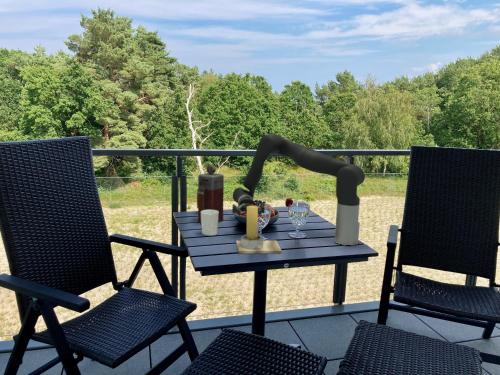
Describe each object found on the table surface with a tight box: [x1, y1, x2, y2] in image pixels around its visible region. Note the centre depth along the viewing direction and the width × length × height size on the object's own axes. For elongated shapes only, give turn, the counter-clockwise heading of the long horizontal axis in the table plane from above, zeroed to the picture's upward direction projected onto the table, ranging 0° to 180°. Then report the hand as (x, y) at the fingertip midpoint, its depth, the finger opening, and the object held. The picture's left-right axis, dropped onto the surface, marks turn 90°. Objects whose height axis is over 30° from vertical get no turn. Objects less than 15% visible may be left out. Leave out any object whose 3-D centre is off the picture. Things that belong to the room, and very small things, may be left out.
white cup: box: [200, 210, 219, 236], centre depth 193 cm, size 8×8×10 cm
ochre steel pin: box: [246, 205, 259, 240], centre depth 175 cm, size 4×4×16 cm
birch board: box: [235, 239, 283, 255], centre depth 177 cm, size 17×13×1 cm
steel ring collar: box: [240, 233, 264, 249], centre depth 176 cm, size 9×9×4 cm
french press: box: [196, 164, 225, 224], centre depth 210 cm, size 9×11×28 cm
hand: (249, 212), depth 186 cm, fingers open, 8 cm apart
